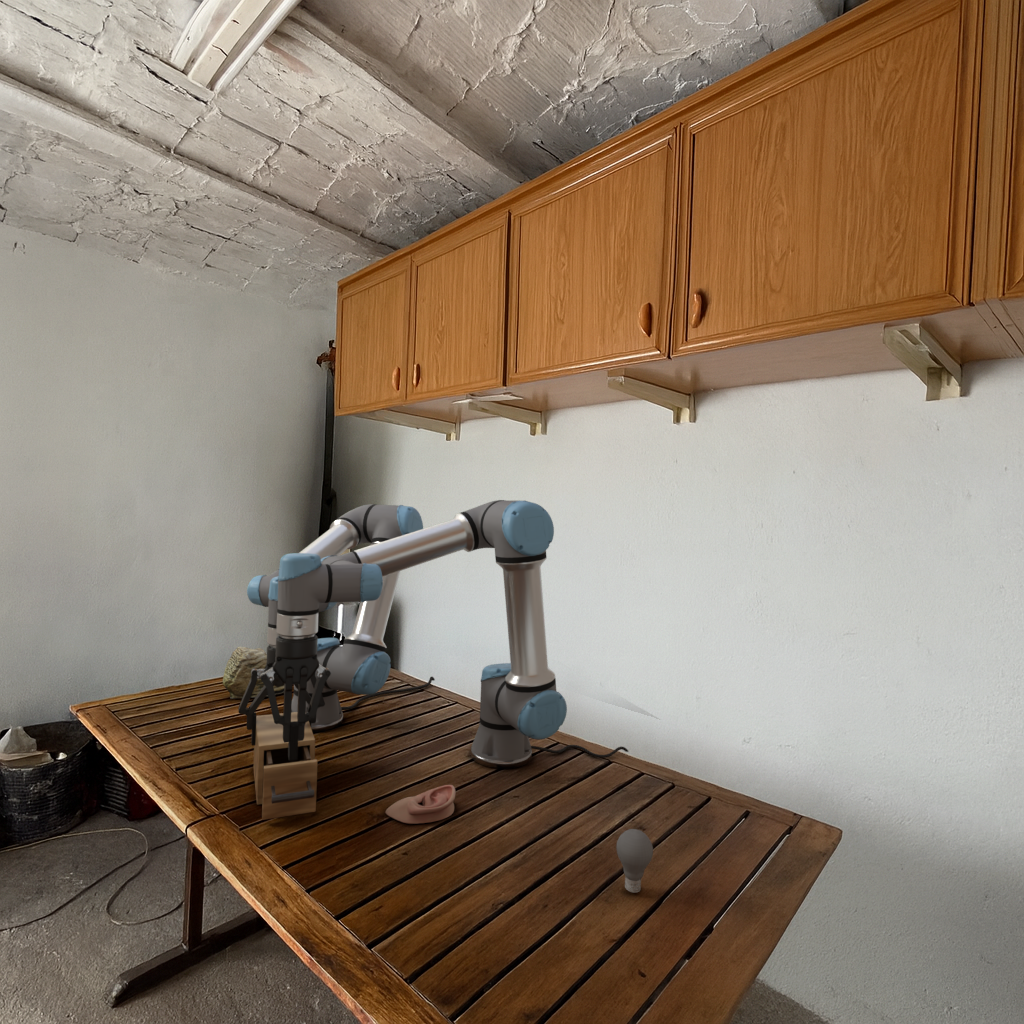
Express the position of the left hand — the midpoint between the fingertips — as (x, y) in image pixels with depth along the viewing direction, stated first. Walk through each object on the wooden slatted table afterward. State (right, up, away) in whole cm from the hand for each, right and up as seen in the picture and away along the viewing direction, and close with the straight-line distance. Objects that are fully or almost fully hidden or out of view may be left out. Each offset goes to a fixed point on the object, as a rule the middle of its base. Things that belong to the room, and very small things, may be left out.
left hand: (281, 740), depth 144 cm
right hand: (+11, +5, -23) cm, 26 cm away
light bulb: (+73, -11, -39) cm, 83 cm away
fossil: (-28, -5, +54) cm, 61 cm away
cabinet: (+2, -8, -4) cm, 9 cm away
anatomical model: (+34, -9, -15) cm, 38 cm away
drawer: (+7, -7, -16) cm, 19 cm away
